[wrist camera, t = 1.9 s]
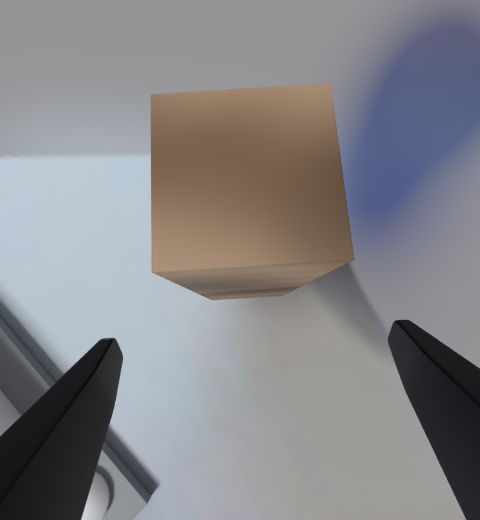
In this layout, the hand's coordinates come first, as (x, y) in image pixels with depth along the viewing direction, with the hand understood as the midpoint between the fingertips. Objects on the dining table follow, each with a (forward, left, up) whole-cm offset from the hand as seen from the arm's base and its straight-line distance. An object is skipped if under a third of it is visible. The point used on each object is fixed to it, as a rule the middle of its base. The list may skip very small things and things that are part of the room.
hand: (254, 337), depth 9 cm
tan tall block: (+4, -2, -11) cm, 12 cm away
